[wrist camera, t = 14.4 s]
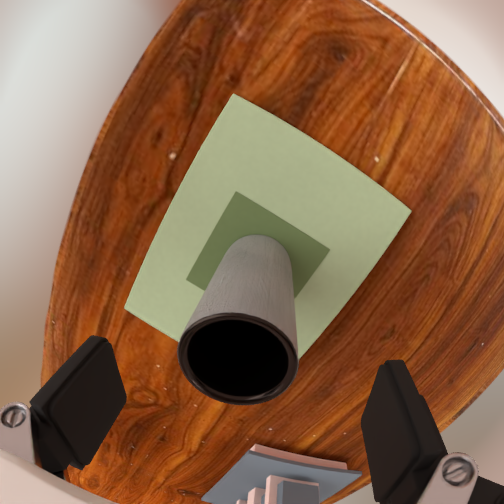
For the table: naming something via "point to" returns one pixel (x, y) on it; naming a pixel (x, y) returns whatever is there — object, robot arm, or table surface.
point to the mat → (266, 221)
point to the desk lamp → (280, 479)
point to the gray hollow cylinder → (244, 326)
